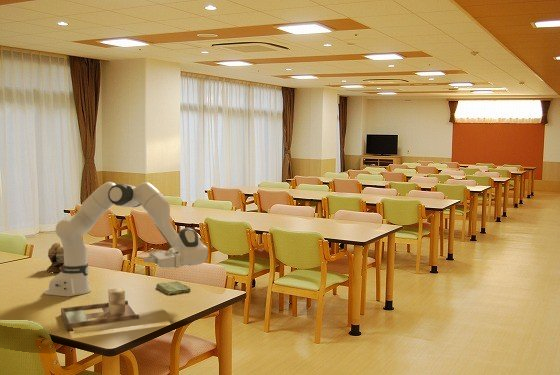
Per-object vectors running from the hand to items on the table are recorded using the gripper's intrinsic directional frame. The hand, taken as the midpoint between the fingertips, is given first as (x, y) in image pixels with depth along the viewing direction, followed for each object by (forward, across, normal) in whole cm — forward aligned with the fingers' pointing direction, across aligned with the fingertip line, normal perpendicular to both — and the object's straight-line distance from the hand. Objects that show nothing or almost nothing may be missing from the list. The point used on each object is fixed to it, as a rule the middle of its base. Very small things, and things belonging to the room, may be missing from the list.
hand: (143, 260), depth 256 cm
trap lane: (+19, 0, +24) cm, 31 cm away
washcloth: (-22, -32, +25) cm, 46 cm away
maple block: (+12, 0, +22) cm, 25 cm away
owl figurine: (+27, -100, +24) cm, 107 cm away
